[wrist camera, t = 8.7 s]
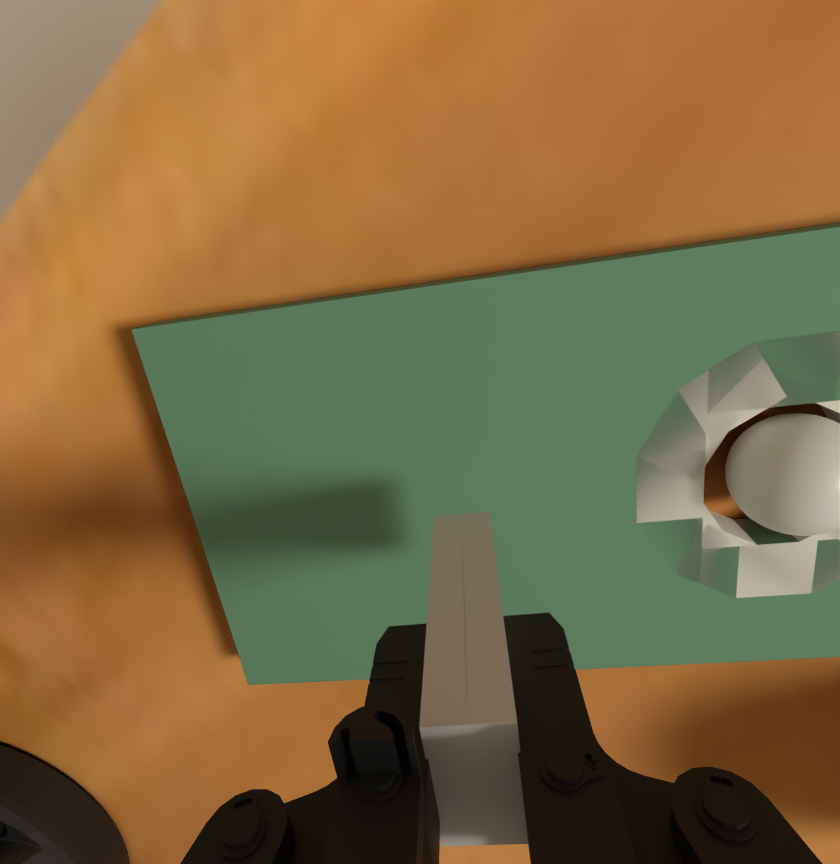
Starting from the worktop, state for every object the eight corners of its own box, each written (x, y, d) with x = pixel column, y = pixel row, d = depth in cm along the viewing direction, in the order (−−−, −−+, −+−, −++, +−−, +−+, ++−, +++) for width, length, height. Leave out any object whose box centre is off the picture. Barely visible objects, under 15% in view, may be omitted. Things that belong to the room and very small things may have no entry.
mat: (263, 654, 22) (248, 684, 21) (160, 321, 17) (131, 329, 16) (891, 620, 19) (927, 652, 17) (971, 203, 14) (1030, 198, 13)
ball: (795, 573, 14) (905, 538, 15) (800, 448, 13) (918, 416, 14) (699, 518, 17) (791, 491, 18) (697, 416, 16) (795, 391, 17)
